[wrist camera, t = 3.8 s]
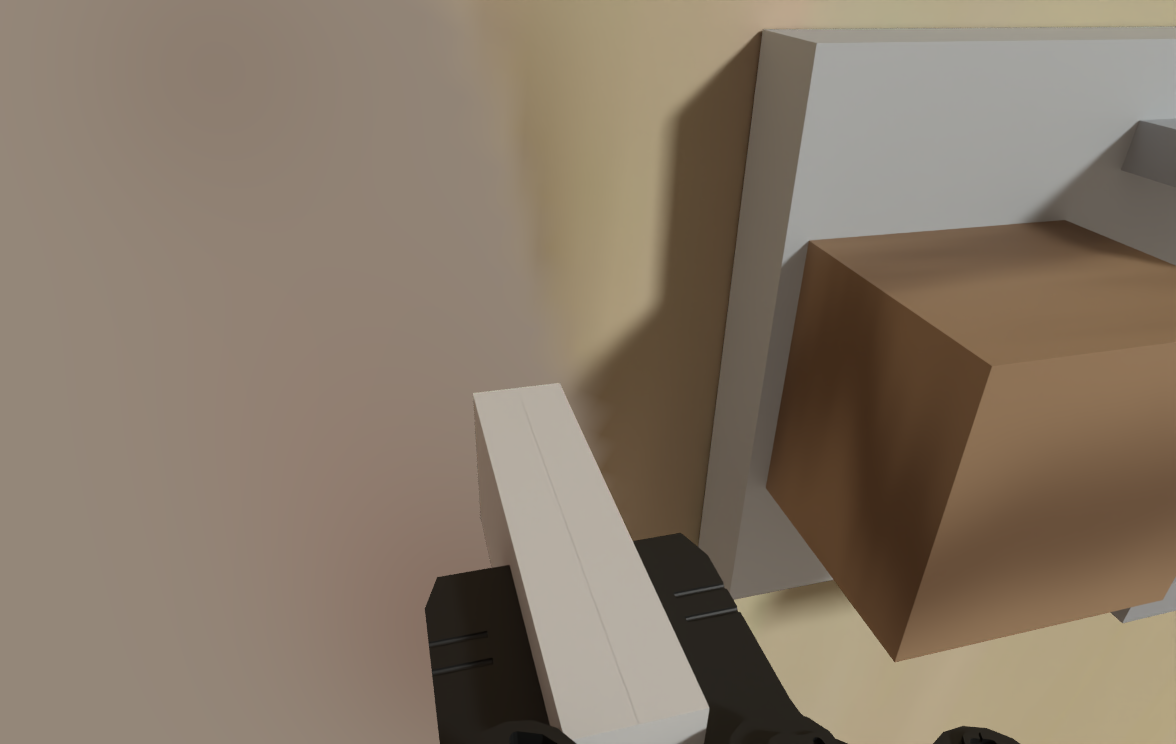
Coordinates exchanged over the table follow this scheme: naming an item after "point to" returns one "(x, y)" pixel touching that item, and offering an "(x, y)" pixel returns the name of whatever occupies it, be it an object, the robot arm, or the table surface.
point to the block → (982, 429)
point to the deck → (917, 203)
